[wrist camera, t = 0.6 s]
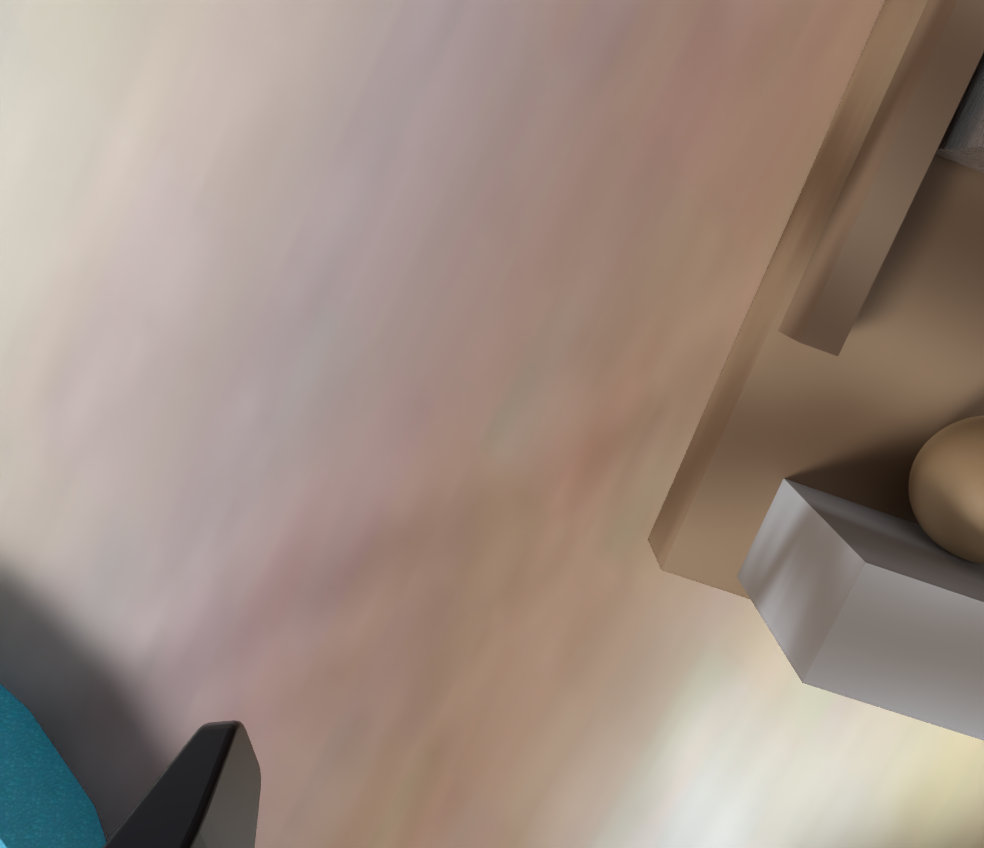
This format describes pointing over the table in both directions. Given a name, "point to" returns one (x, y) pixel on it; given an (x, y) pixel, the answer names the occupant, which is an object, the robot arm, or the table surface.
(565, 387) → the table surface
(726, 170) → the table surface
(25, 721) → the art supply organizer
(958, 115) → the handle
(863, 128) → the board
